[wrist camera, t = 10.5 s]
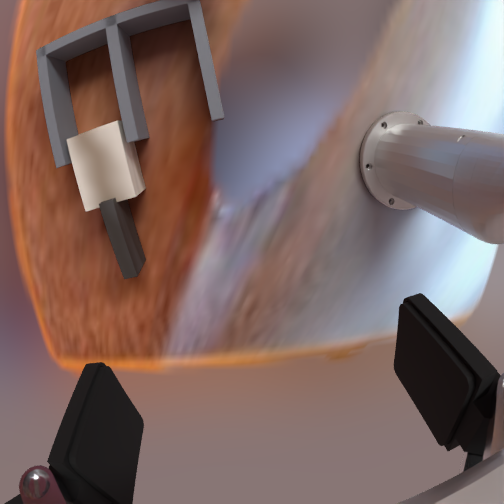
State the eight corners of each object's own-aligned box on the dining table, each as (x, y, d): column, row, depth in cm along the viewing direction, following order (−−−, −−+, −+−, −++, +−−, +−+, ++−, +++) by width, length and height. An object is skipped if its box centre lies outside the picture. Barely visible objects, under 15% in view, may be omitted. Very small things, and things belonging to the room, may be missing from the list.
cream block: (129, 121, 31) (114, 120, 26) (164, 252, 37) (156, 272, 32) (83, 137, 31) (62, 140, 26) (120, 262, 37) (106, 283, 32)
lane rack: (200, 8, 27) (197, -9, 22) (223, 119, 32) (224, 117, 28) (56, 57, 26) (36, 50, 22) (75, 162, 32) (56, 167, 27)
